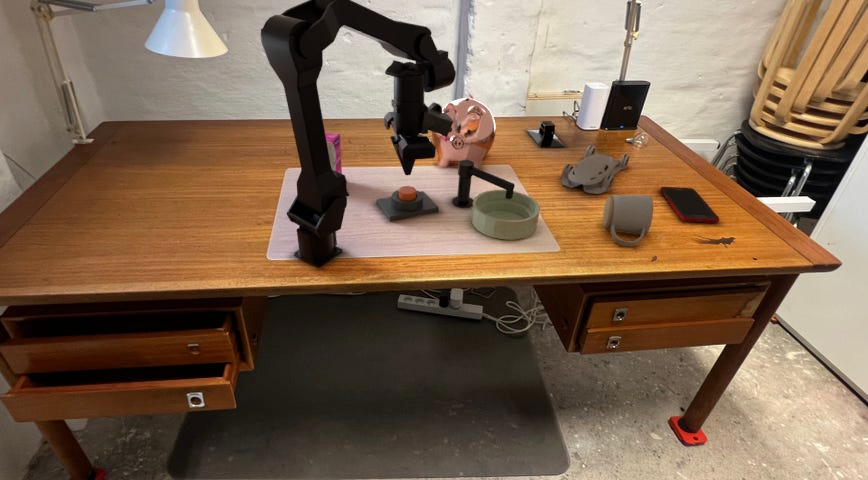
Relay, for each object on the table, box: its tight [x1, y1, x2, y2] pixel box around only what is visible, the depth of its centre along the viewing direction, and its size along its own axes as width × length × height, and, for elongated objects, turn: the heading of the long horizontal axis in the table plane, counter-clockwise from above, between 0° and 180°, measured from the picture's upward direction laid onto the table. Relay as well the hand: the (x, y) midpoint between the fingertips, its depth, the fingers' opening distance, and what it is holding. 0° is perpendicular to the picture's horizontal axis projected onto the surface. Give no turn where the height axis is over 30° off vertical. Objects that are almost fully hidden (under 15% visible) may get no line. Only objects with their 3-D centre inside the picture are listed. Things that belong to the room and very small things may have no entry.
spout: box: [457, 160, 516, 199], centre depth 103 cm, size 14×3×3 cm, turn 44°
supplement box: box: [325, 131, 343, 174], centre depth 113 cm, size 6×6×12 cm
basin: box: [470, 189, 541, 241], centre depth 103 cm, size 13×13×4 cm
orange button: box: [398, 185, 417, 201], centre depth 106 cm, size 4×4×2 cm
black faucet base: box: [451, 175, 474, 209], centre depth 109 cm, size 5×5×6 cm
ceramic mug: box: [602, 194, 654, 248], centre depth 100 cm, size 11×8×8 cm
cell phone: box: [659, 186, 720, 224], centre depth 112 cm, size 8×15×1 cm, turn 177°
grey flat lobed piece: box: [561, 145, 630, 195], centre depth 122 cm, size 11×24×5 cm, turn 146°
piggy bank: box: [431, 93, 497, 170], centre depth 124 cm, size 15×18×16 cm
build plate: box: [526, 120, 566, 149], centre depth 141 cm, size 12×7×5 cm, turn 7°
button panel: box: [375, 189, 439, 222], centre depth 107 cm, size 11×8×3 cm
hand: (407, 174), depth 104 cm, fingers closed
